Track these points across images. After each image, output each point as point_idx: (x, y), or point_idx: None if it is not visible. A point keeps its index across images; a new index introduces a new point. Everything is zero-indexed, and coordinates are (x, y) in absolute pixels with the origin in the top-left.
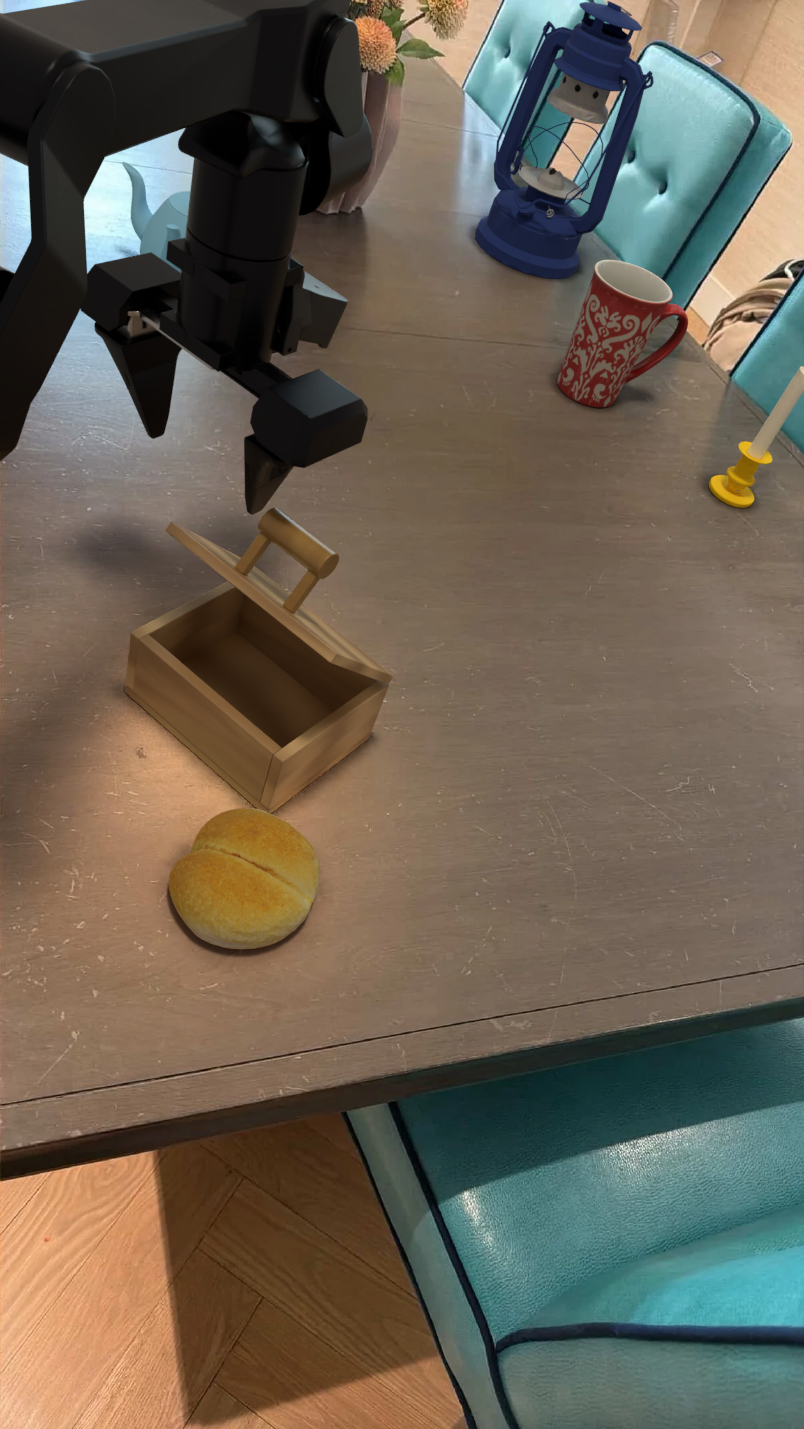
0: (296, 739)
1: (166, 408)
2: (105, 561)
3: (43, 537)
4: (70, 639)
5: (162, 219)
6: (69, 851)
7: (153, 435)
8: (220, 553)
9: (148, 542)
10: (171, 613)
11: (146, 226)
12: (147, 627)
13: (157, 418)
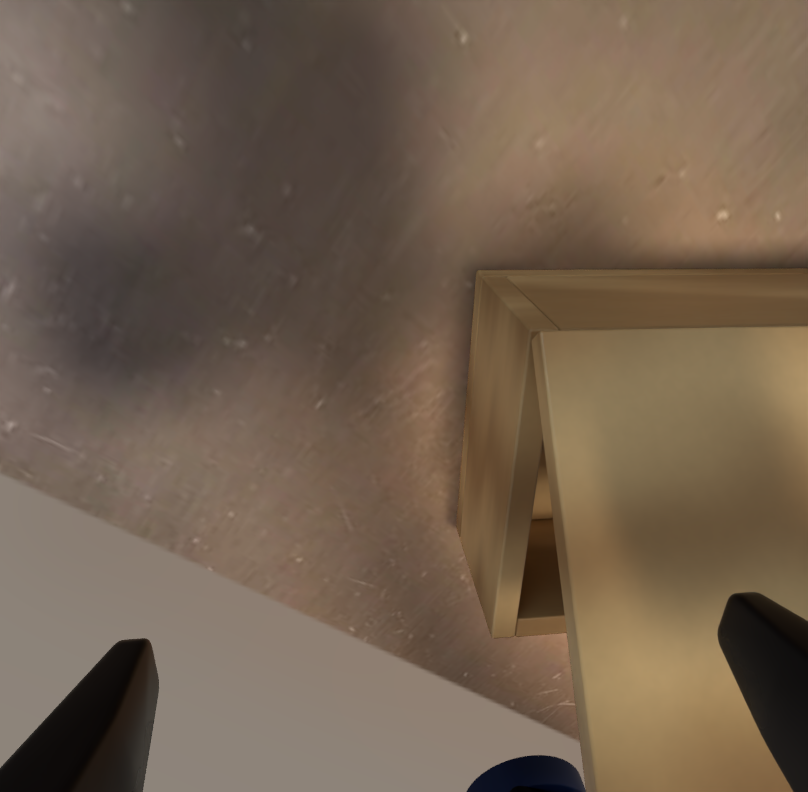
0: None
1: (97, 769)
2: (142, 358)
3: (9, 417)
4: (306, 527)
5: None
6: None
7: (156, 699)
8: (692, 698)
9: (122, 228)
10: (508, 558)
11: None
12: (503, 611)
13: (128, 772)
